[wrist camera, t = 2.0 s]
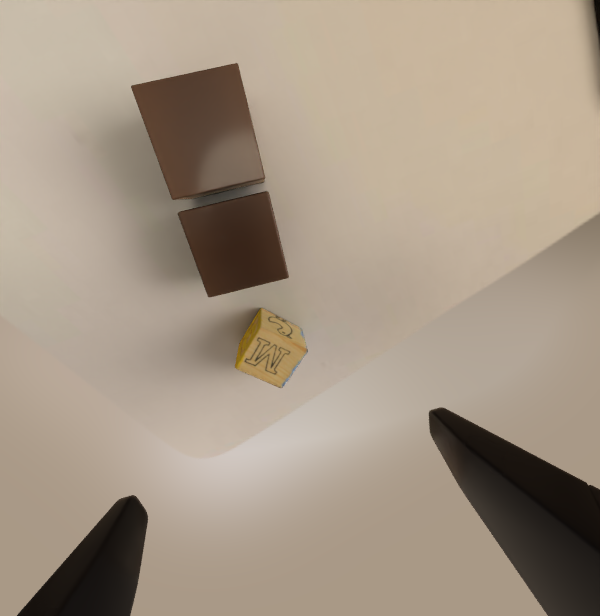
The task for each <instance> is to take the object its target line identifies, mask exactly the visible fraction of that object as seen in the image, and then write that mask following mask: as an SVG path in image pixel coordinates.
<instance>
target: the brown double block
mask: <svg viewBox="0 0 600 616" xmlns="http://www.w3.org/2000/svg"><path fill="white" fill-rule="evenodd" d="M131 88H132V91H133V94H134V96H135V99H136V102H137V104H138V107H139V110H140V113H141V115H142V118H143V121H144V124H145V126H146V129H147V132H148V134H149V137H150V140H151V143H152V145H153V148H154V151H155V154H156V156H157V159H158V162H159V165H160V167H161V170H162V173H163V175H164V178H165V181H166V184H167V186H168V189H169V192H170V195H171V197H172V199H173V200H180V199H193V198H198V197H202V196H206V195H211V194H215V193H219V192H223V191H228V190H232V189H236V188H241V187H245V186H249V185H253V184H258V183H262V182H264V179H265V175H264V171H263V166H262V162H261V158H260V154H259V150H258V146H257V141H256V137H255V133H254V129H253V125H252V121H251V116H250V112H249V108H248V104H247V100H246V96H245V91H244V87H243V83H242V79H241V75H240V71H239V66H238V64H237V63H235V64H231V65H226V66H221V67H217V68H212V69H207V70H203V71H198V72H193V73H188V74H184V75H179V76H174V77H170V78H165V79H160V80H156V81H151V82H146V83H142V84H137V85H132V86H131ZM178 216H179V219H180V221H181V224H182V227H183V229H184V232H185V235H186V238H187V240H188V243H189V246H190V249H191V251H192V254H193V257H194V260H195V262H196V265H197V268H198V270H199V273H200V276H201V279H202V281H203V284H204V287H205V290H206V292H207V295H208V297H214V296H218V295H222V294H226V293H230V292H234V291H238V290H242V289H246V288H250V287H254V286H258V285H262V284H266V283H270V282H274V281H278V280H282V279H286V278H288V277H289V275H288V271H287V266H286V262H285V258H284V254H283V250H282V246H281V241H280V237H279V233H278V229H277V225H276V221H275V216H274V212H273V208H272V204H271V200H270V196H269V192H267V191H266V192H262V193H257V194H253V195H249V196H244V197H240V198H236V199H232V200H227V201H223V202H219V203H215V204H210V205H206V206H202V207H198V208H193V209H189V210H185V211H180V212H178Z"/></svg>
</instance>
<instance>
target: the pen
mask: <svg viewBox="0 0 600 616" xmlns="http://www.w3.org/2000/svg"><path fill="white" fill-rule="evenodd" d="M595 5H596V12H597V19H598V26H599V33H600V0H595Z"/></svg>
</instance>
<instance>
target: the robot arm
mask: <svg viewBox="0 0 600 616" xmlns="http://www.w3.org/2000/svg"><path fill="white" fill-rule="evenodd" d="M429 426H430V433H431V436H432V438H433V440H434V442H435V444H436V445H437V447H438V449H439V451H440V452H441V454H442V456H443V458H444V460H445V462H446V463H447V465H448V467H449V469H450V470H451V472H452V474H453V476H454V478H455V479H456V481H457V483H458V485H459V486H460V488H461V489H462V491H463V493H464V494H465V496H466V497H467V499H468V500H469V502H470V503H471V505H472V506H473V508H474V509H475V510H476V512H477V513H478V515H479V516H480V518H481V519H482V520H483V522H484V523H485V525H486V526H487V528H488V529H489V531H490V532H491V534H492V535H493V537H494V538H495V539H496V541H497V542H498V544H499V545H500V547H501V548H502V549H503V551H504V553H505V554H506V555H507V557H508V558H509V560H510V561H511V563H512V564H513V565H514V567H515V568H516V570H517V571H518V573H519V574H520V576H521V577H522V578H523V580H524V582H525V583H526V584H527V586H528V587H529V589H530V590H531V592H532V593H533V594H534V596H535V598H536V599H537V601H538V602H539V603H540V605H541V606H542V608H543V609H544V611H545V612H546V613H547V615H548V616H600V490H599V489H598V488H596V487H594V486H591V485H589V486H588V484H587V483H586V482H584V481H582V480H580V479H578V478H576V477H575V476H573V475H571V474H569V473H567V472H565V471H563V470H561V469H559V468H557V467H556V466H554V465H552V464H550V463H548V462H546V461H544V460H542V459H540V458H538V457H537V456H535V455H533V454H531V453H529V452H527V451H525V450H523V449H521V448H519V447H518V446H516V445H514V444H512V443H510V442H508V441H506V440H504V439H502V438H500V437H499V436H497V435H494V434H493V433H491V432H489V431H487V430H485V429H483V428H481V427H479V426H478V425H476V424H474V423H472V422H470V421H468V420H466V419H464V418H462V417H460V416H459V415H457V414H455V413H453V412H451V411H449V410H447V409H445V408H437V409H434V410H431V411H430V412H429ZM147 523H148V515H147V512H146V510H145V508H144V507H143V506H142V504H141V503H140V501H139V500H138V498H137V497H136V496H134V495H132V496H128V497H125V498H121V499H119V500H118V501H117V502H116V503H115V504H114V505H113V506H112V507H111V509H110V510H109V511H108V512H107V513H106V514H105V516H104V517H103V518H102V519H101V520H100V521H99V522H98V523H97V525H96V526H95V527H94V528H93V529H92V530H91V531H90V533H89V534H88V535H87V536H86V537H85V538H84V539H83V541H82V542H81V543H80V544H79V545H78V546H77V547H76V549H75V550H74V551H73V552H72V553H71V554H70V556H69V557H68V558H67V559H66V560H65V561H64V562H63V564H62V565H61V566H60V567H59V568H58V569H57V570H56V571H55V573H54V574H53V575H52V576H51V577H50V578H49V579H48V581H47V582H46V583H45V584H44V585H43V586H42V587H41V589H40V590H39V591H38V592H37V593H36V594H35V595H34V597H33V598H32V599H31V600H30V601H29V602H28V603H27V605H26V606H25V607H24V608H23V609H22V610H21V611H20V613H19V614H18V615H17V616H130V614H131V610H132V606H133V602H134V598H135V593H136V589H137V584H138V579H139V573H140V566H141V561H142V554H143V547H144V541H145V535H146V529H147Z"/></svg>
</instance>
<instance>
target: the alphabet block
mask: <svg viewBox="0 0 600 616" xmlns="http://www.w3.org/2000/svg"><path fill="white" fill-rule="evenodd" d="M307 352H308V349H307V346H306V342H305V339H304V335H303V331H302V329H301V328H299V327H297V326H296V325H294V324H292V323H290V322H288V321H286V320H284V319H282V318H280V317H278V316H276V315H274V314H272V313H270V312H268V311H266V310H265V309H263V308H260V309H259V311H258V313H257V314H256V316H255V318H254V320H253V321H252V323H251V325H250V326H249V328H248V330H247V331H246V333H245V335H244V336H243V338H242V340H241V341H240V343H239V348H238V353H237V358H236V364H235V368H236V369H238V370H240V371H242V372H245V373H247V374H250V375H252V376H254V377H256V378H259V379H261V380H263V381H266V382H268V383H270V384H272V385H275V386H277V387H279V388H283V386H284V385H285V384H286V382H287V381H288V379H289V378H290V377H291V375H292V374H293V372H294V371H295V369H296V368H297V366H298V365H299V364H300V362H301V361H302V359H303V358H304V356H305V355H306V354H307Z"/></svg>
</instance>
